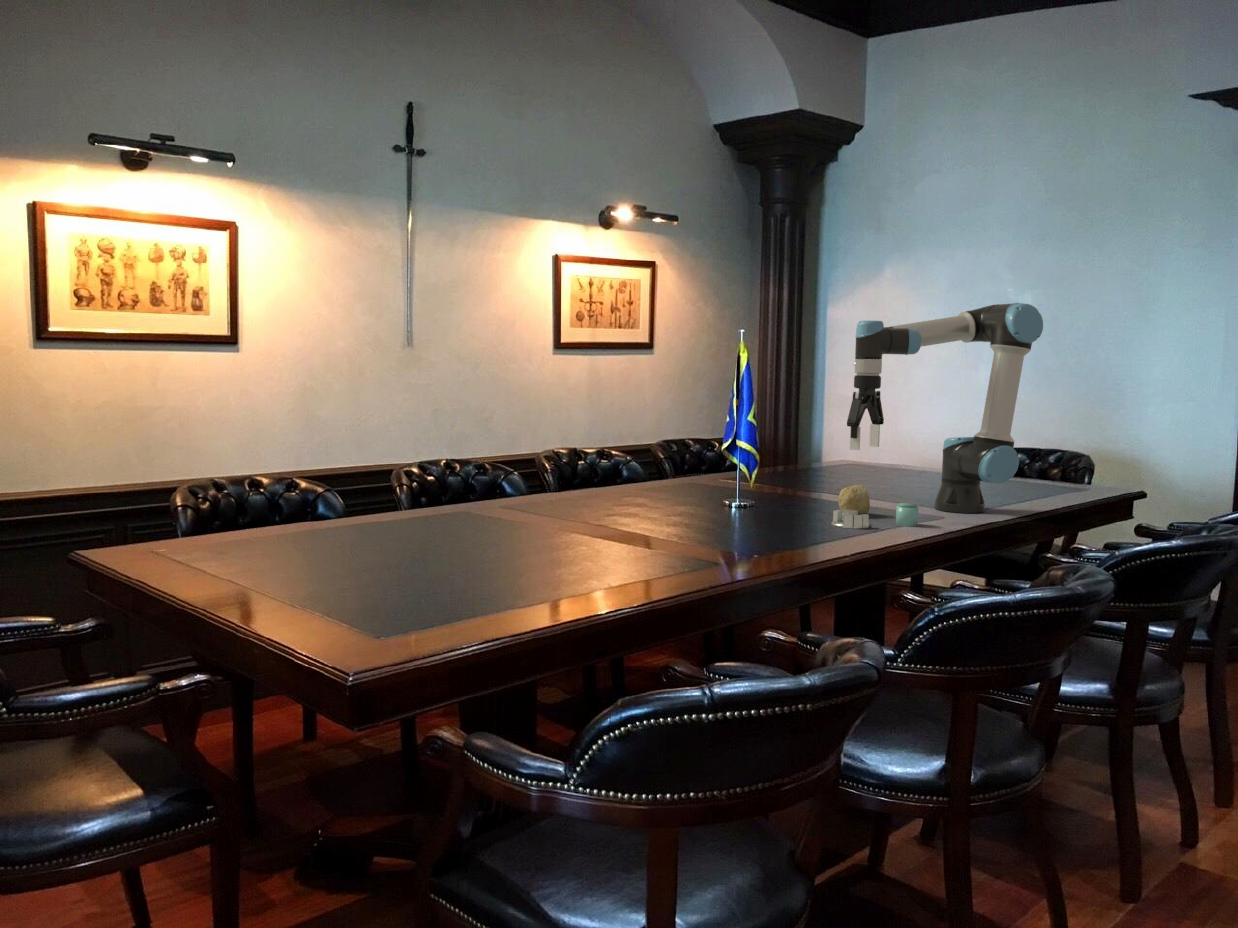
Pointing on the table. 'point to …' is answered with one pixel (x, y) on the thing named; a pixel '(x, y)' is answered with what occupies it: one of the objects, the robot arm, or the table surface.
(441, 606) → the table surface
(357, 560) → the table surface
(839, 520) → the grey ring-shaped piece
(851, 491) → the coral
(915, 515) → the teal rounded cylinder
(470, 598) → the table surface
